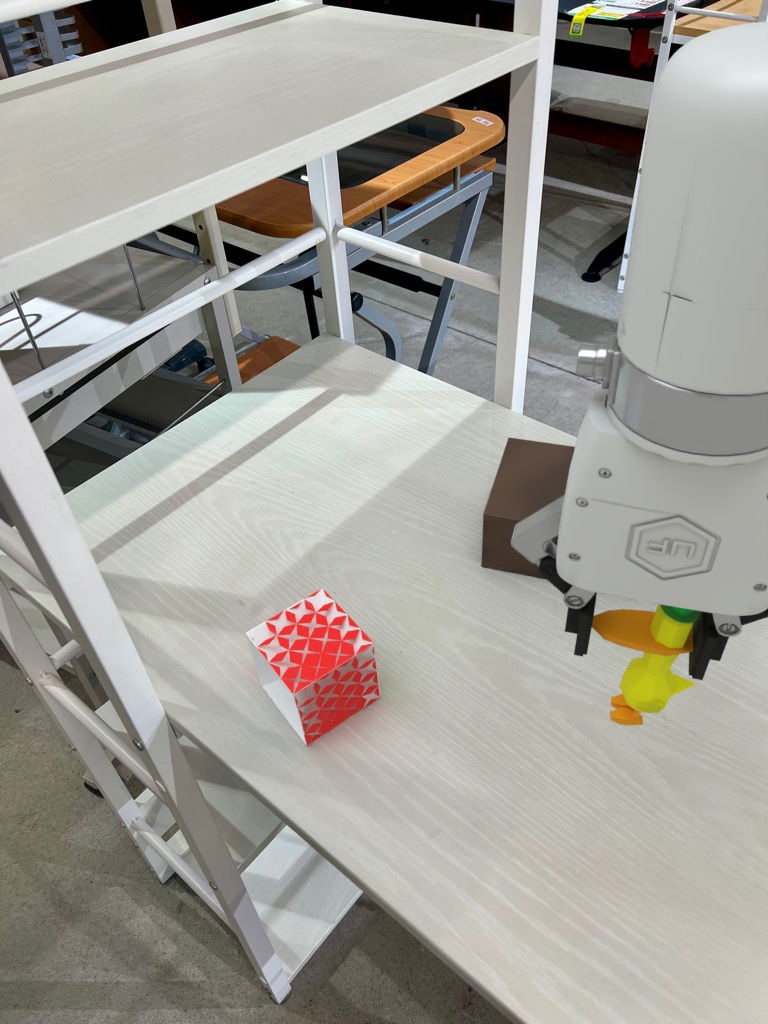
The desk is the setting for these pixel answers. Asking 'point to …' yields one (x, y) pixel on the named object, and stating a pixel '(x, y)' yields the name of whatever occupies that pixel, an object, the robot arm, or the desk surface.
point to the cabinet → (521, 498)
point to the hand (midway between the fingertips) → (638, 645)
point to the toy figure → (648, 657)
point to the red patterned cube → (315, 665)
